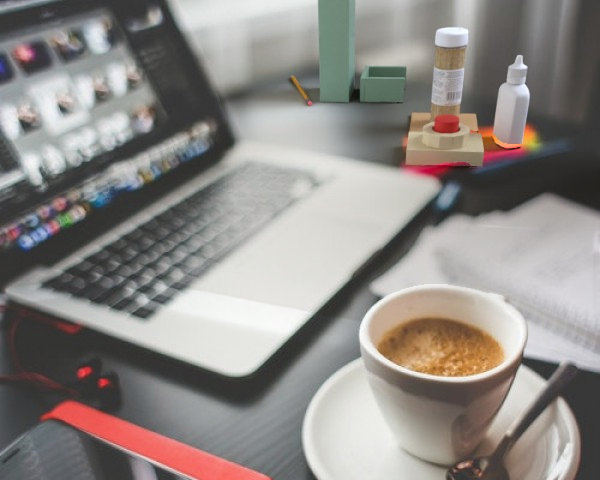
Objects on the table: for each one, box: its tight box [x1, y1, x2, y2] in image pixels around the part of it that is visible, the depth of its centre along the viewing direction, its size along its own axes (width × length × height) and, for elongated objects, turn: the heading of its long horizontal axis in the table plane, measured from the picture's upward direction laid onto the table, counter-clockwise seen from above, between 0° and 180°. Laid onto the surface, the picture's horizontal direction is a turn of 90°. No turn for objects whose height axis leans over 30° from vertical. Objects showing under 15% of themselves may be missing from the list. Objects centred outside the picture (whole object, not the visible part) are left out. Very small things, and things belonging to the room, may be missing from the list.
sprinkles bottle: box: [429, 26, 469, 123], centre depth 92 cm, size 5×5×14 cm
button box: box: [405, 122, 485, 167], centre depth 85 cm, size 10×7×4 cm
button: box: [434, 115, 459, 133], centre depth 84 cm, size 3×3×2 cm
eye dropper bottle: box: [492, 54, 531, 145], centre depth 86 cm, size 4×6×12 cm
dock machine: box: [317, 0, 408, 103], centre depth 106 cm, size 14×9×19 cm, turn 79°
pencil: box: [290, 75, 313, 107], centre depth 115 cm, size 19×1×1 cm, turn 11°
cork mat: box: [409, 112, 479, 132], centre depth 96 cm, size 10×10×1 cm
